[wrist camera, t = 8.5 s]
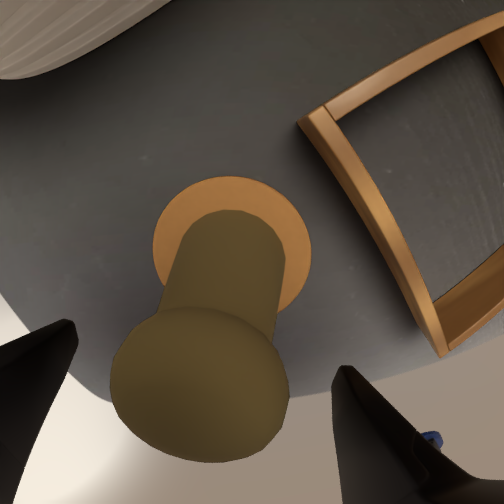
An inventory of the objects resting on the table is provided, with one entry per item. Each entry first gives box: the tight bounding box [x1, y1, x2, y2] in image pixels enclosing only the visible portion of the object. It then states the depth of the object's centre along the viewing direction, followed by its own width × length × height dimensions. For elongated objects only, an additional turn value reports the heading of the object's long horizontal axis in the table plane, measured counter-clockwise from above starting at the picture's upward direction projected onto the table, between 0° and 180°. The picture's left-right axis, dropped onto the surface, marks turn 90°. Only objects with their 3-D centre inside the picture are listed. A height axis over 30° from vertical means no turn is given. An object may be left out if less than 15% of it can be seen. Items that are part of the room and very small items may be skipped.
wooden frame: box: [297, 11, 504, 358], centre depth 12 cm, size 16×16×4 cm
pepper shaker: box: [110, 209, 290, 463], centre depth 11 cm, size 6×6×11 cm
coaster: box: [153, 176, 311, 313], centre depth 16 cm, size 9×9×1 cm
